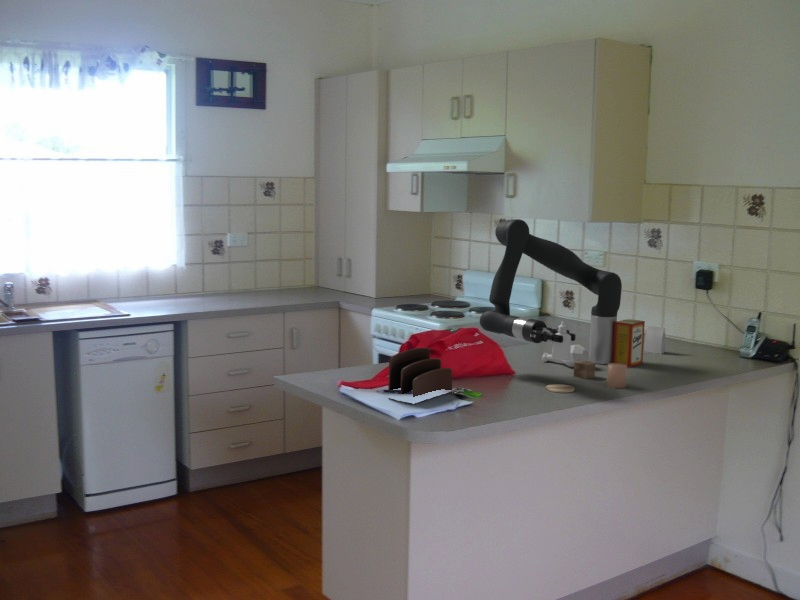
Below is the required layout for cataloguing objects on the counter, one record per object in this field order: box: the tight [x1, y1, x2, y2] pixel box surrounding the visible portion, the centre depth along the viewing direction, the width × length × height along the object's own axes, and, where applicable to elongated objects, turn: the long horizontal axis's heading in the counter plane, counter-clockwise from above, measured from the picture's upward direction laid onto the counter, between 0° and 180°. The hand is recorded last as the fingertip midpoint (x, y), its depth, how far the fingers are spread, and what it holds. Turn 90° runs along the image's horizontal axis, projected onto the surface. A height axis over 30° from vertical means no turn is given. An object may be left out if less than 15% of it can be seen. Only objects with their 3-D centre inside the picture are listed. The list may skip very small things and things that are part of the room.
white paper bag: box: [643, 325, 666, 355], centre depth 338 cm, size 4×7×10 cm, turn 52°
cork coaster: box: [545, 383, 575, 394], centre depth 278 cm, size 9×9×1 cm
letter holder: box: [387, 347, 453, 397], centre depth 267 cm, size 10×20×14 cm, turn 141°
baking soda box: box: [613, 318, 645, 368], centre depth 316 cm, size 10×6×16 cm
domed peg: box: [606, 363, 628, 389], centre depth 283 cm, size 6×6×7 cm
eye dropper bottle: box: [551, 321, 572, 361], centre depth 275 cm, size 4×6×12 cm
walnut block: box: [573, 360, 596, 380], centre depth 295 cm, size 5×5×5 cm
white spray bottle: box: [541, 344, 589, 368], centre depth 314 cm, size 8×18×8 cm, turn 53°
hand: (568, 338), depth 273 cm, fingers closed on eye dropper bottle, 5 cm apart
